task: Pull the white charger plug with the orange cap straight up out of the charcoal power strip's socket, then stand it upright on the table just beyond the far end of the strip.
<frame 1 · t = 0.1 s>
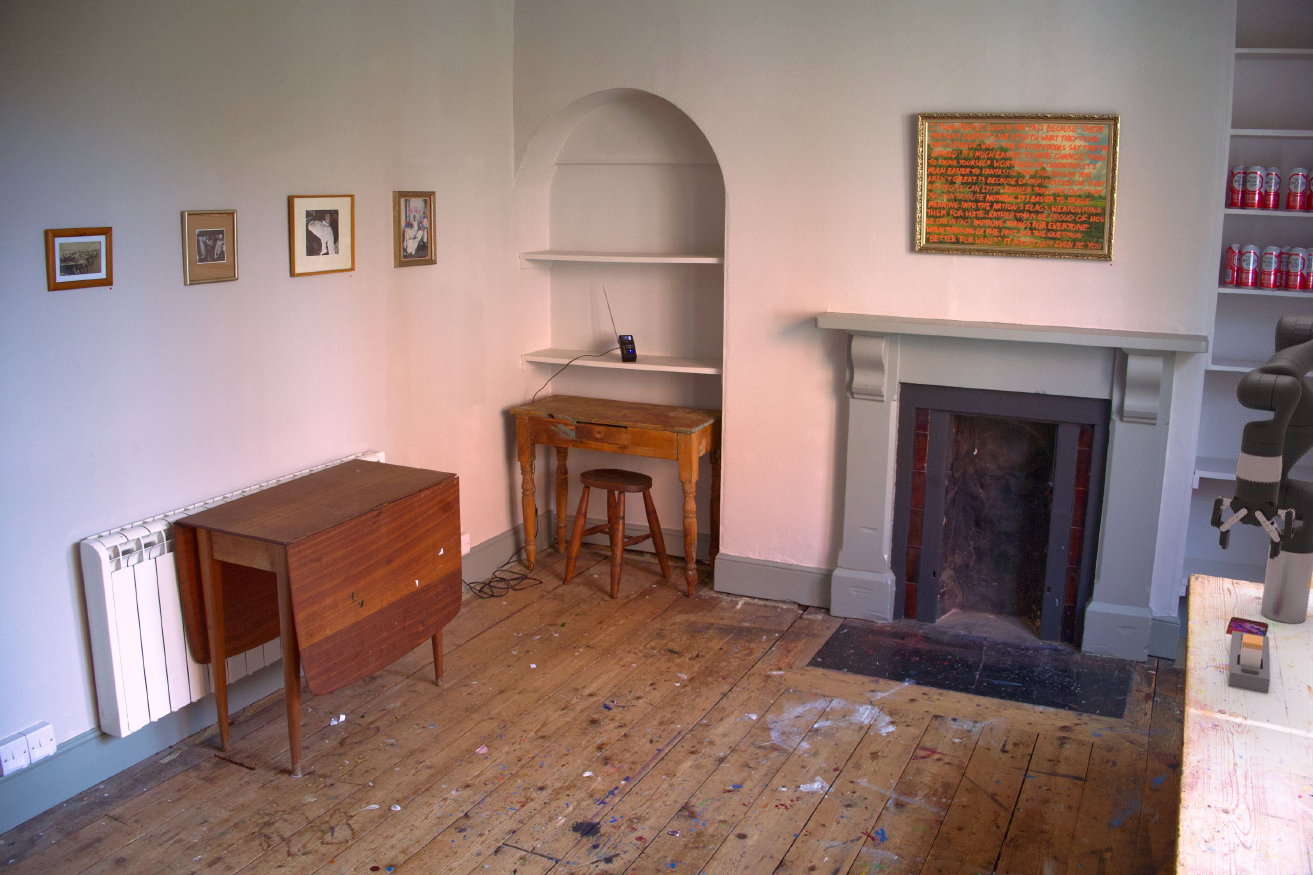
hand: (1248, 553, 207), 29 cm above the table, tool pointing down, fingers open, 8 cm apart
smartphone: (1245, 635, 238), on the table
power strip: (1247, 671, 220), on the table
charger plug: (1248, 674, 216), point 1 cm above the table, touching power strip
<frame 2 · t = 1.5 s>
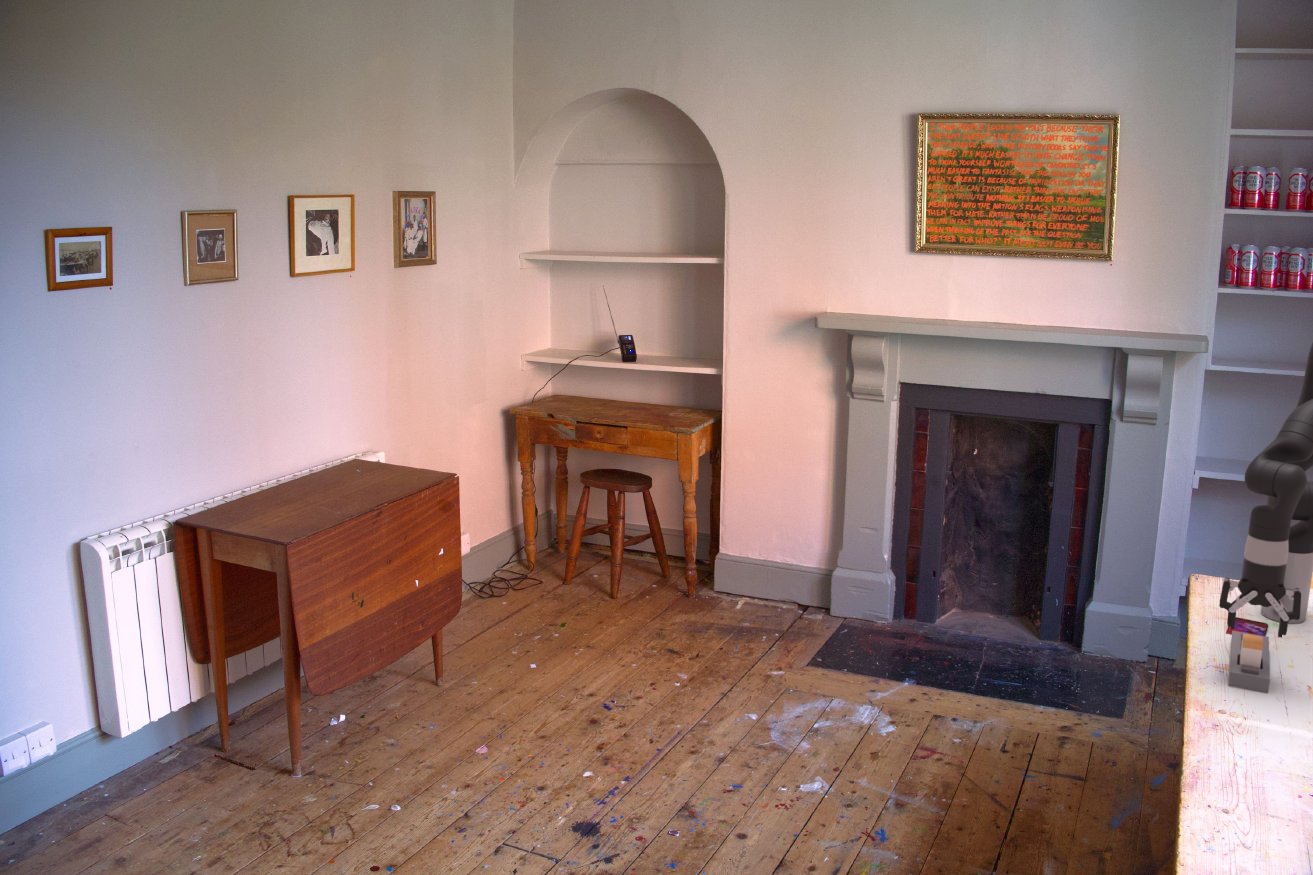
hand: (1255, 632, 214), 11 cm above the table, tool pointing down, fingers open, 8 cm apart
nothing on the table moved.
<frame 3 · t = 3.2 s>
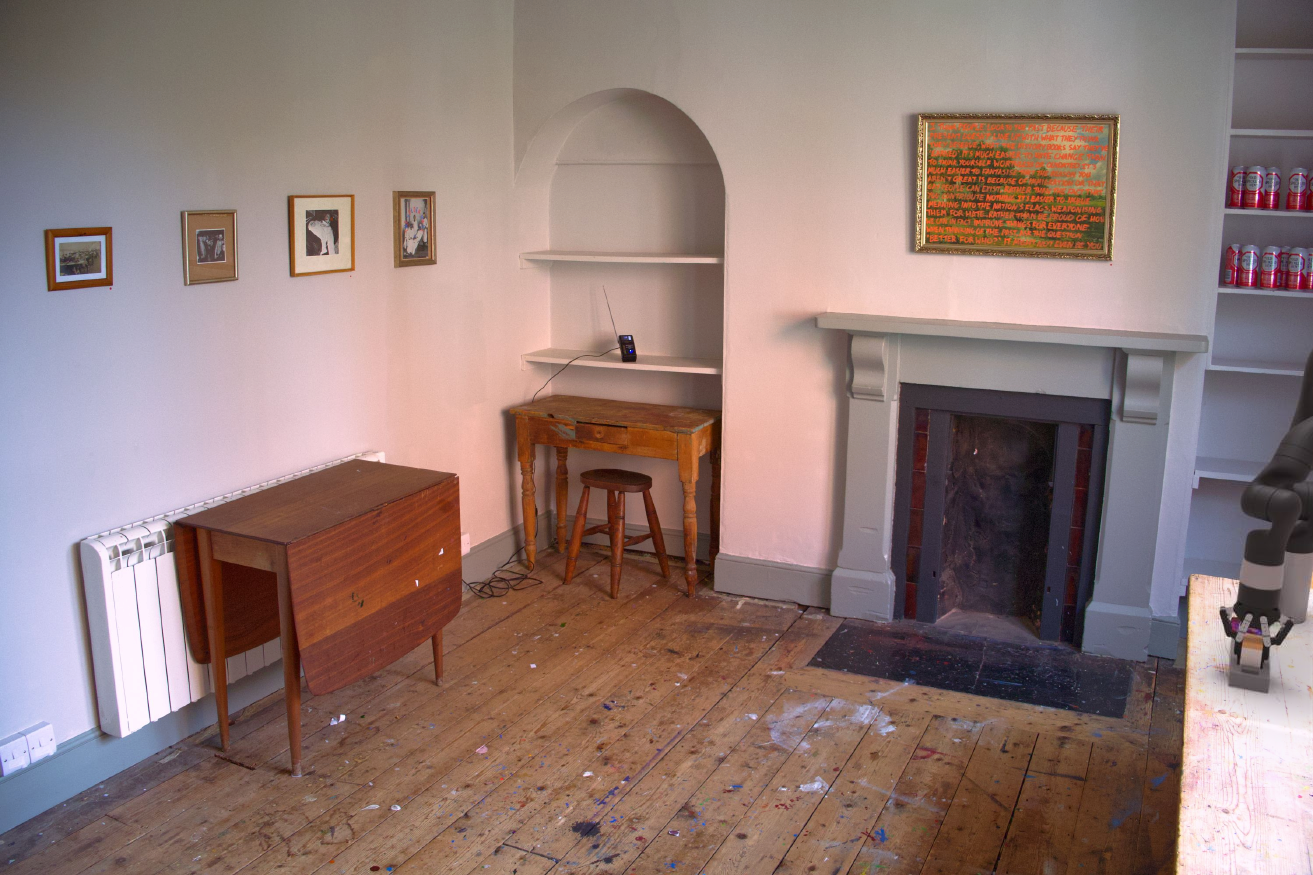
hand: (1250, 658, 215), 5 cm above the table, tool pointing down, fingers closed on charger plug, 3 cm apart
charger plug: (1248, 674, 216), point 1 cm above the table, touching gripper, power strip
everything else where it was.
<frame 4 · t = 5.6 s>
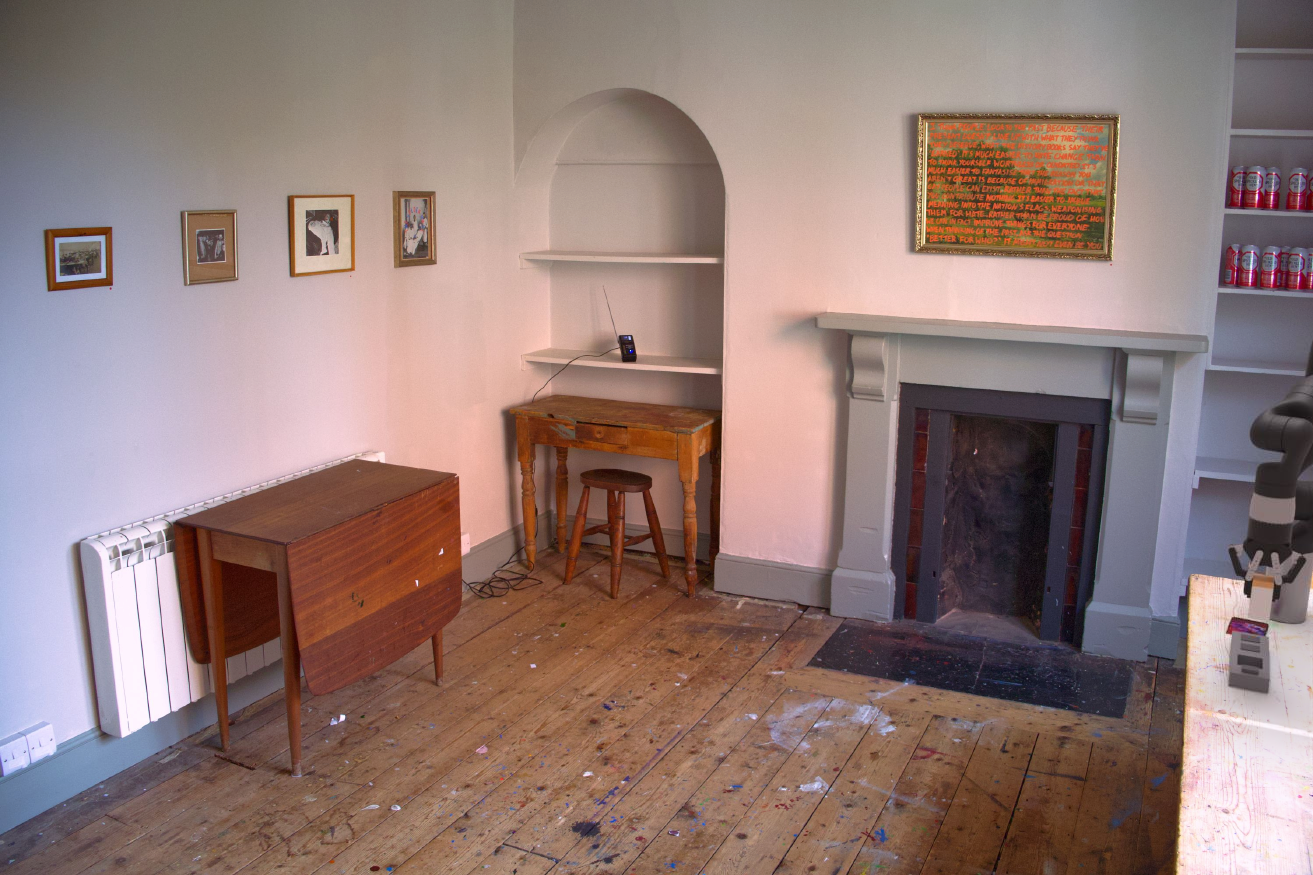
hand: (1260, 598, 207), 20 cm above the table, tool pointing down, fingers closed on charger plug, 3 cm apart
charger plug: (1258, 615, 208), point 16 cm above the table, touching gripper
everything else where it was.
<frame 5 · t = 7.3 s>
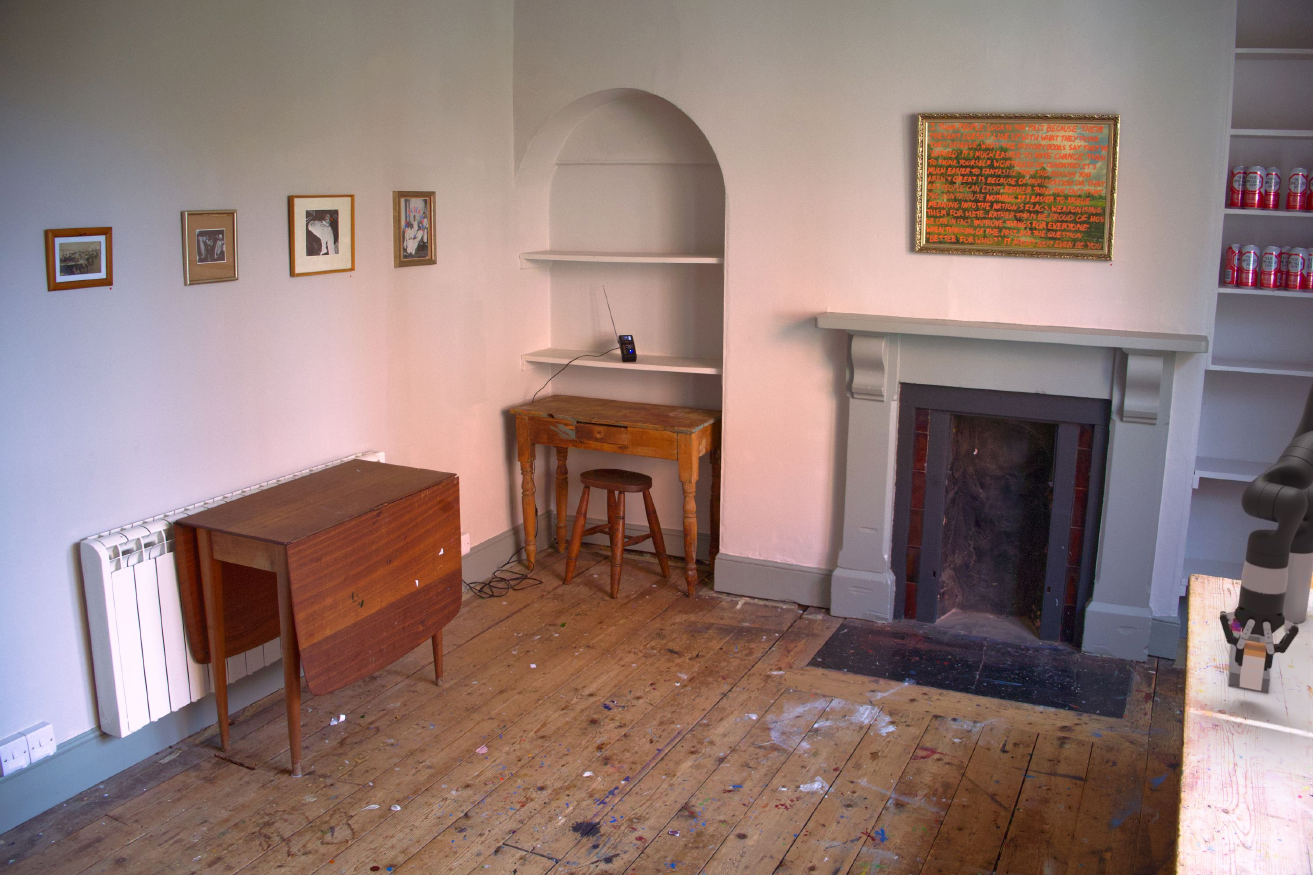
hand: (1252, 666, 203), 9 cm above the table, tool pointing down, fingers closed on charger plug, 3 cm apart
charger plug: (1250, 683, 204), point 5 cm above the table, touching gripper
everything else where it was.
when the fingers open (5 cm above the table, at t = 8.3 s): charger plug drops 2 cm, on the table.
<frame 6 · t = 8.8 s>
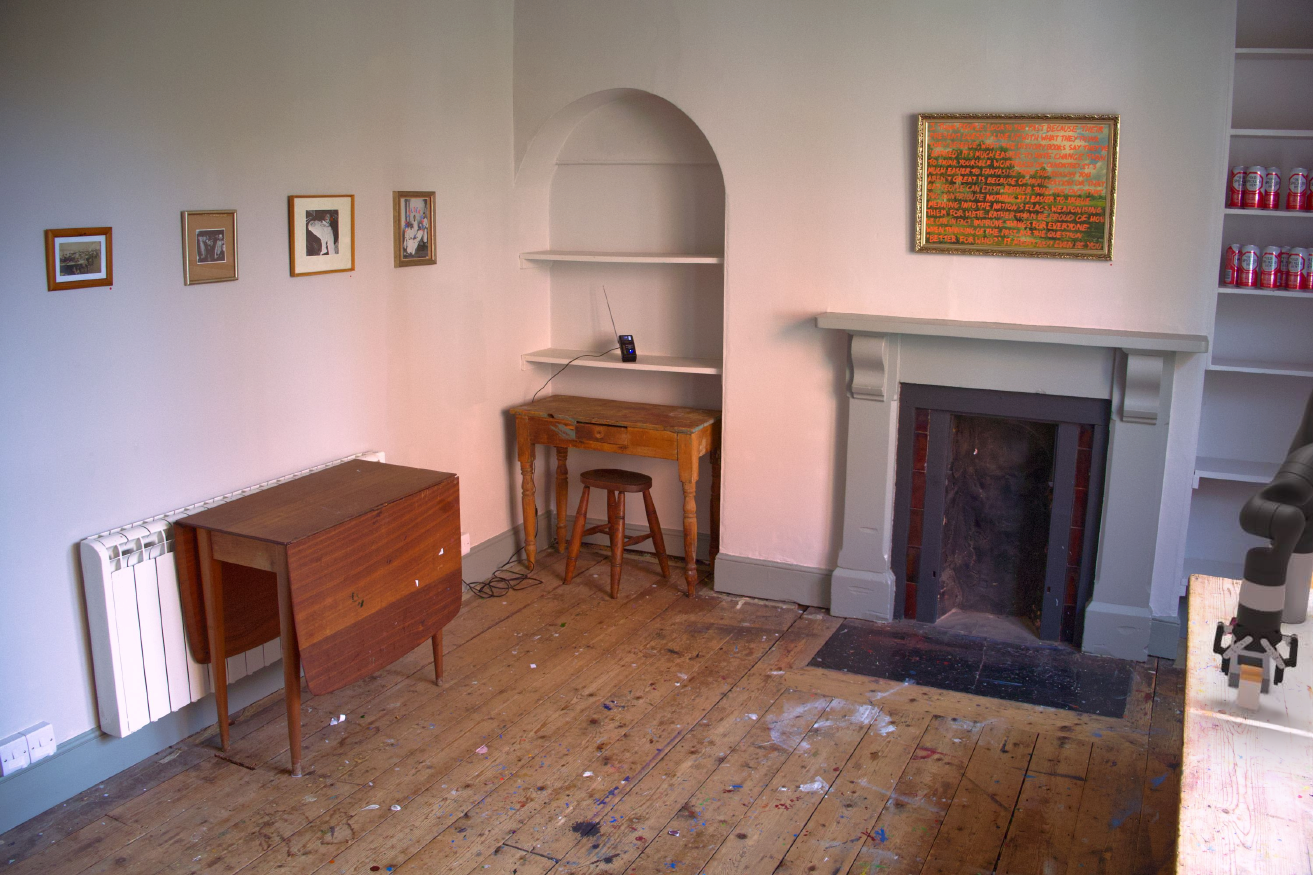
hand: (1250, 678, 204), 6 cm above the table, tool pointing down, fingers open, 8 cm apart
charger plug: (1246, 707, 205), on the table
everything else where it was.
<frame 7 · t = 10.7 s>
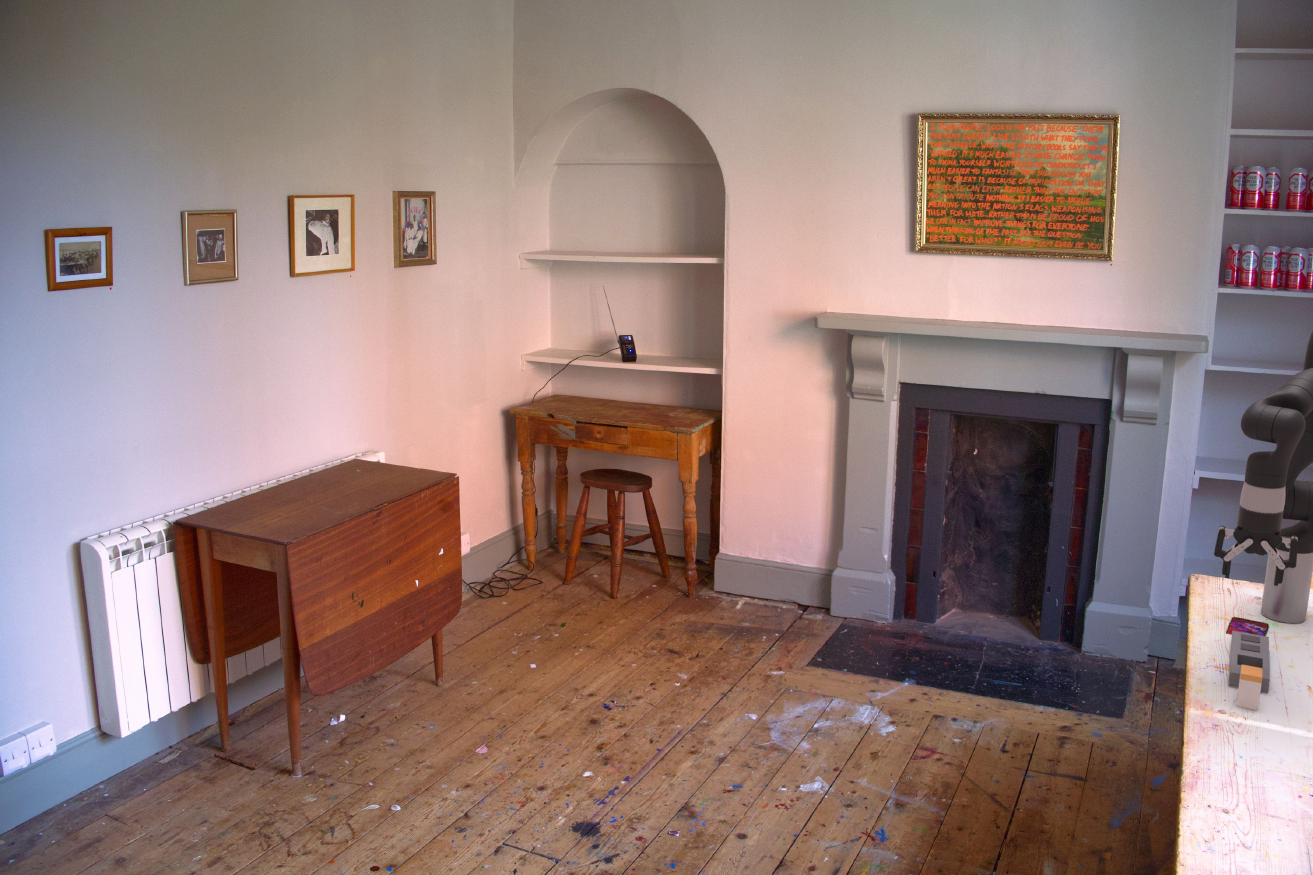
hand: (1251, 580, 209), 23 cm above the table, tool pointing down, fingers open, 8 cm apart
nothing on the table moved.
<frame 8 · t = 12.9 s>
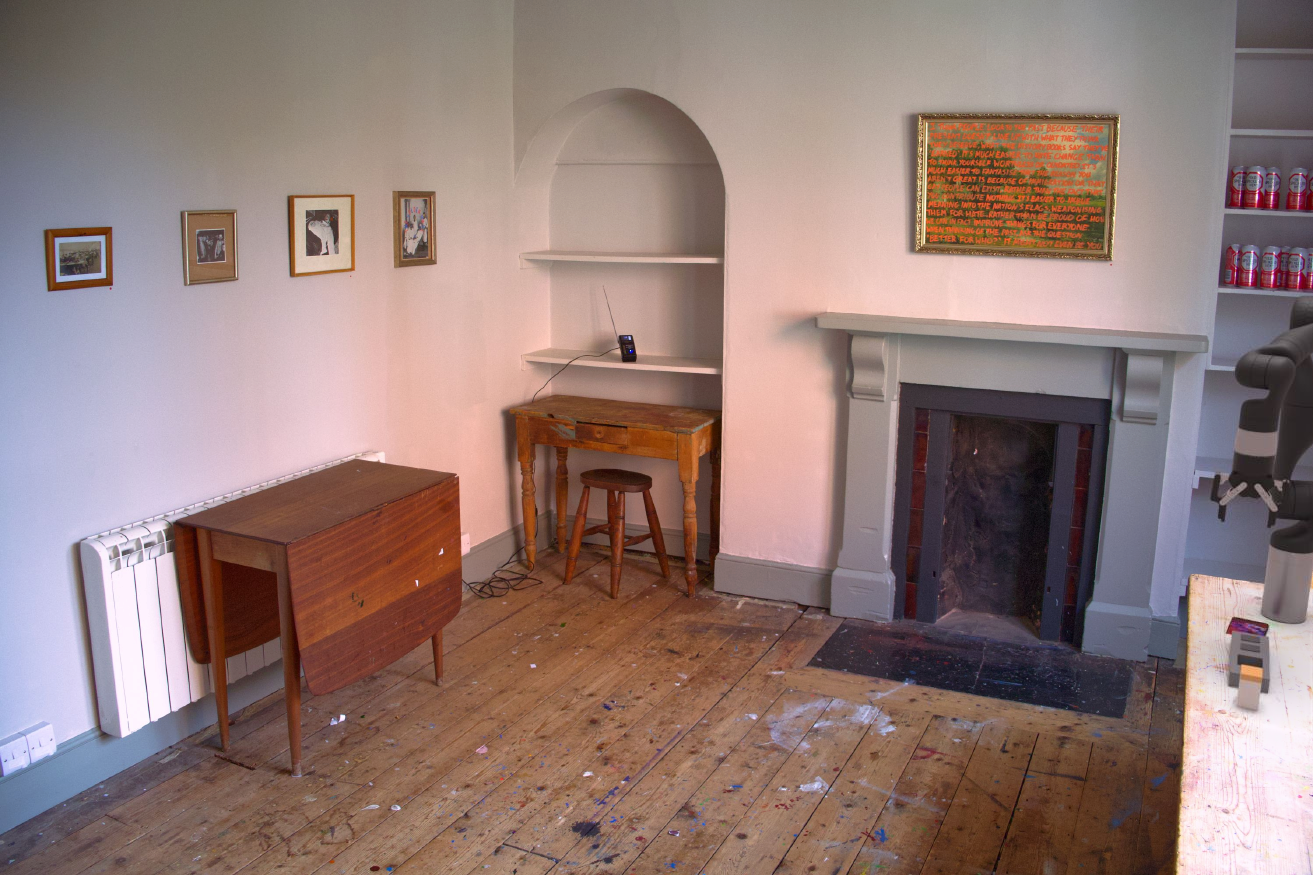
hand: (1245, 523, 220), 30 cm above the table, tool pointing down, fingers open, 8 cm apart
nothing on the table moved.
at the end: charger plug inside the target area (0.0 cm from its centre), on the table; charger plug touching table; charger plug tilted 0° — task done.
